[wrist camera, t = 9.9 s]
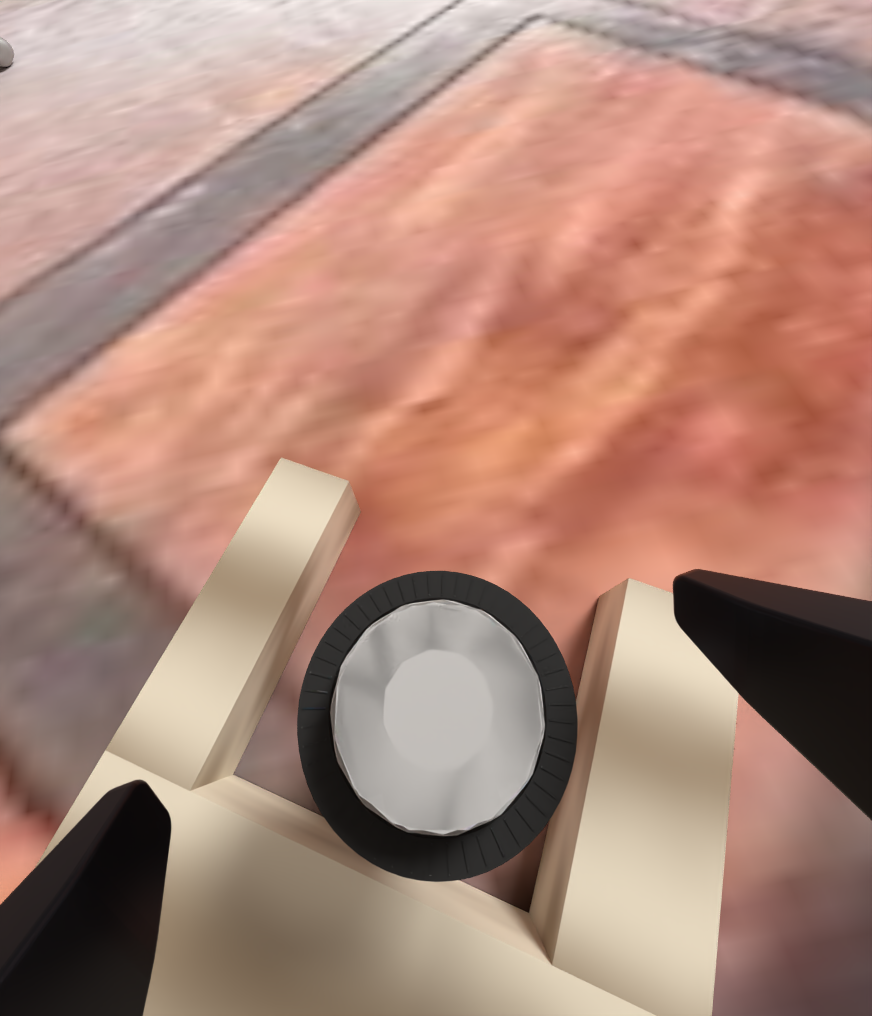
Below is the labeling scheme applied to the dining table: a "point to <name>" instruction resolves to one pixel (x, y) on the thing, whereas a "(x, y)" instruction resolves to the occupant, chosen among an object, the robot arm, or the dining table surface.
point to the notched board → (407, 902)
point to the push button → (437, 726)
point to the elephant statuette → (5, 53)
